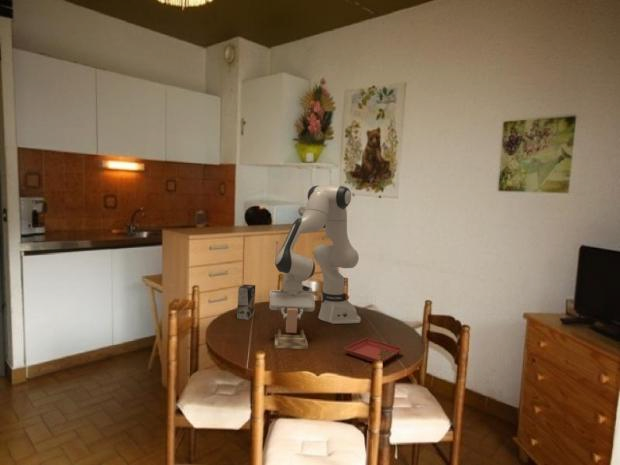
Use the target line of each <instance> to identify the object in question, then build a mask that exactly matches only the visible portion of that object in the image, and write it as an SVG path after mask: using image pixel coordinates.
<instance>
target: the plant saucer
mask: <svg viewBox="0 0 620 465" xmlns="http://www.w3.org/2000/svg"><path fill="white" fill-rule="evenodd" d="M381 349H384V351H385V350H387V351H391V352H395V353H393V354H392V355H390V356H388V357H386V358H385V359H383V360H382V361H383V362H384V363H385V361H386V360H388V359H389V360H391V359H392V357H393V358H395V357H396V356H398V354H400V353H401V351H402V350H403V348H402V347H398V346H395V345H391V344H389V343H385V342H381V341H378V340H376V339H371V338H368V337H365V338H363V339H360V340H358V341H356V342H354V343H351V344H349V345H347V346H345V347H344V350H345V351H346V353H347V354H348V355H349V354H350V356H352V355H353V356H352V357H355V356H356V357H355V358H358V357H359V359H361V358H362V359H361V360H363V359H365V360H364V361H366V360H367V361H366V362H369V361H371V362H370V363H372V362H373V361H375V360H379V359H381V356H380V355H378V354H380V351H381ZM395 355H396V356H395ZM394 356H395V357H394ZM390 358H391V359H390ZM389 360H388V361H389ZM386 362H387V361H386Z"/></svg>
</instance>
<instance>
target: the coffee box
mask: <svg viewBox="0 0 620 465" xmlns="http://www.w3.org/2000/svg"><path fill="white" fill-rule="evenodd" d="M256 286H257V285H255V284H243V285H240V286H239V287H238V293H237V294H238V295H237V311H236V312H237V313H236V319H238V320H239V319H240V320H245V321H249V320H250V319H251V318H253V317H254V315H255V305H256V304H255V301H256Z"/></svg>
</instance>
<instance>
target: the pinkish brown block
mask: <svg viewBox="0 0 620 465" xmlns="http://www.w3.org/2000/svg"><path fill="white" fill-rule="evenodd" d="M286 314H287V319H285V333H288V334H289V333H291V334H292V333H293V334H297V331H298V330H297V328H298V319H297V317H298V314H299V311H298V308H287V310H286Z"/></svg>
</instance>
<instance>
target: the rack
mask: <svg viewBox="0 0 620 465" xmlns="http://www.w3.org/2000/svg"><path fill="white" fill-rule="evenodd" d="M308 345H309V344H308V340H307V335H306V334H305V330H304V329H300V334H282V329H281V328H277V334H274V349H297V350H305V349H306V350H309V346H308Z"/></svg>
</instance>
